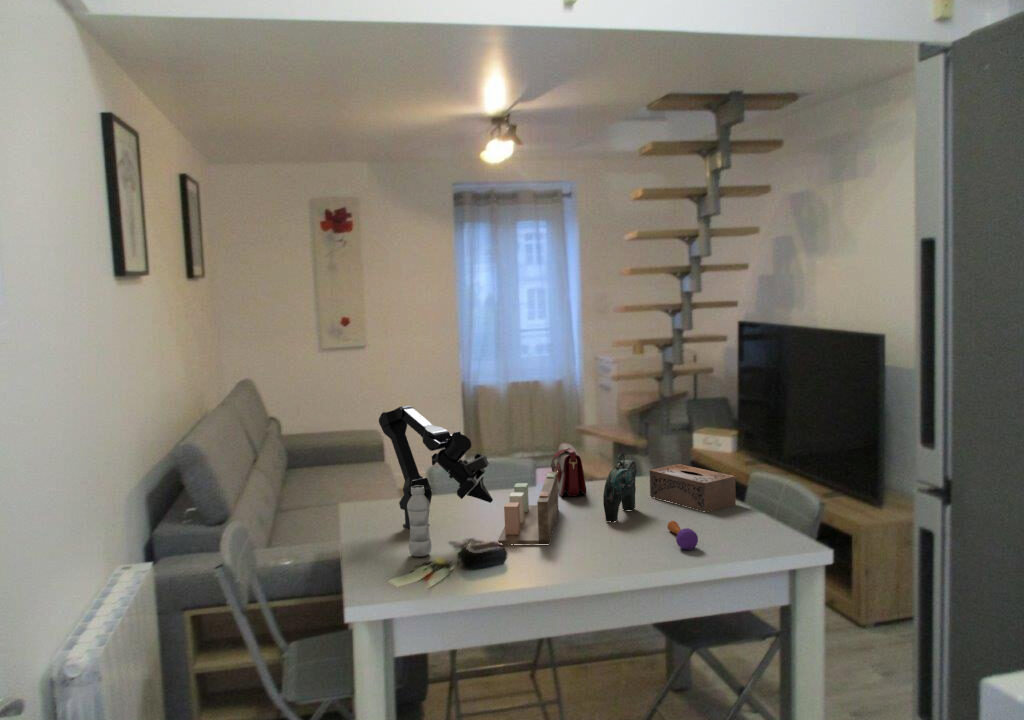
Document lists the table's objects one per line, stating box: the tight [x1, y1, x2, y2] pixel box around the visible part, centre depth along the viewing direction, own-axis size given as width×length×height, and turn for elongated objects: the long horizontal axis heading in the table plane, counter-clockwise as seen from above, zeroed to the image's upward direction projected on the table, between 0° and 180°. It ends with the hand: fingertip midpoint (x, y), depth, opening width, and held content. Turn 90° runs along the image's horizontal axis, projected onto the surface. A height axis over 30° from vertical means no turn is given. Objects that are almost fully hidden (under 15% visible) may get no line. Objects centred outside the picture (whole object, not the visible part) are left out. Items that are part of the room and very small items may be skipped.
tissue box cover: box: [649, 463, 737, 513], centre depth 274 cm, size 26×14×10 cm, turn 34°
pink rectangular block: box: [503, 502, 520, 535], centre depth 240 cm, size 4×5×8 cm
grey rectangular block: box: [509, 491, 525, 523], centre depth 252 cm, size 4×5×8 cm
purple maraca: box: [666, 520, 699, 551], centre depth 231 cm, size 6×6×20 cm
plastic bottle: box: [407, 485, 433, 558], centre depth 227 cm, size 6×7×20 cm
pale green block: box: [513, 482, 530, 512], centre depth 264 cm, size 4×5×8 cm
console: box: [497, 471, 559, 546], centre depth 252 cm, size 15×38×14 cm, turn 173°
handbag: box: [550, 442, 587, 497], centre depth 296 cm, size 28×11×17 cm, turn 3°
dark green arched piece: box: [602, 453, 637, 522], centre depth 259 cm, size 20×6×20 cm, turn 149°
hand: (491, 501), depth 240 cm, fingers closed
